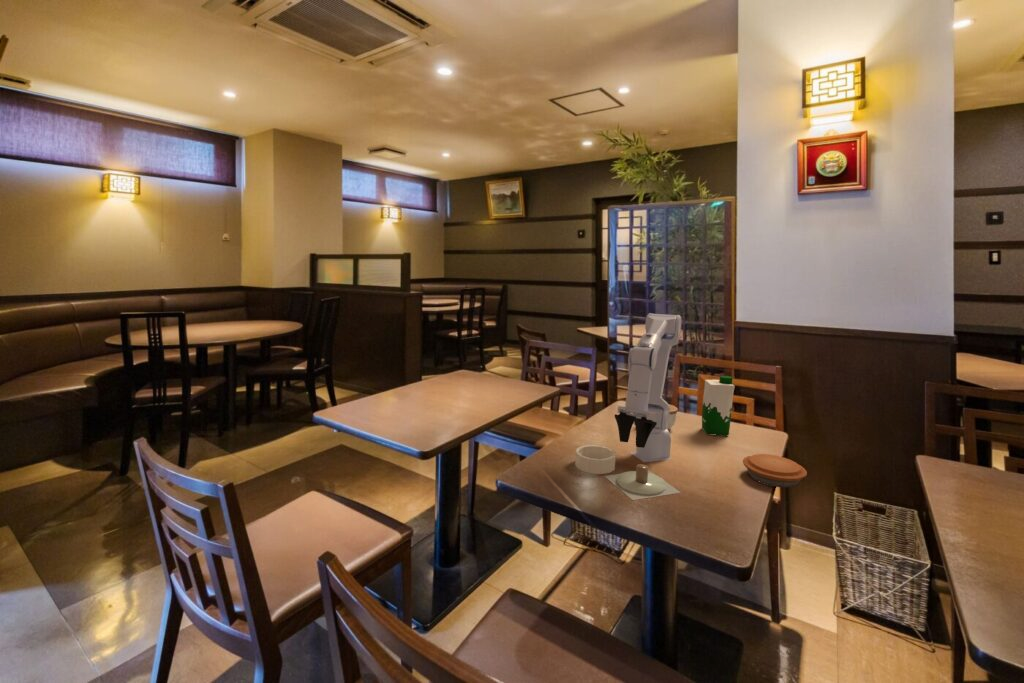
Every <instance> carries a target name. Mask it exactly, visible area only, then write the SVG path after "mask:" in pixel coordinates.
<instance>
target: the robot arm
mask: <svg viewBox="0 0 1024 683" xmlns="http://www.w3.org/2000/svg"><path fill="white" fill-rule="evenodd" d="M682 323H683V322H682V316H681V315H680V314H666V313H665V314H663V313H652V312H649V313H648V314H647V315H646V319H645V333H644V334H642V336H641V337H640V338H639V340H638V343H637V345H635V346H633V347H631V348H629V352H628V357H627V361H628V363H627V364H628V368H627V373H628V381H627V391H626V398H625V404H624V406H622V405H621V406H620V405H618V406H617V411H616V413H617V414H614V418H615V421H616V424H617V428H618V437H619V442H620V443H628V442H629V440H630V436H631V432H632V427H633V425H634V426H635V447H636V448H635V449H636V450H635V451H630V454H631V455H632V456H634V457H636V458H637V459H639V460H640V461H642V462H643V463H652V462H659V461H665V460H666V461H667V460H671V459H672V457H670V456H671V447H672V446H671V444H672V437H671V433H670V431H669V430H667V428H668V424H669V412H670V407H669V405H668V404H669V403H668V402H667V401H666V400H665V399H664V398H663V394H664V388H665V387H664V386H665V381H666V375H667V371H668V370H667V369H668V365H669V357H670V354H671V351H672V347H674V346H676V345H678V344H679V340H680V339H681V338H680V336H681V330H682Z"/></svg>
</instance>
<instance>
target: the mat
mask: <svg viewBox="0 0 1024 683" xmlns="http://www.w3.org/2000/svg"><path fill="white" fill-rule="evenodd" d="M648 473H651V474H654V475H656V474H655V473H654V472H652V471H651V470H649V469H648ZM619 474H620V473H616V474H609V475H604V476H603V477H604V478H605V479H606V480H608V481H609V482H611V483H612V484H613V485H614V486H615V487H616V488H618V489H619V490H620V491H621V492H622V493H624V494H625V495H626V496H627V497H628V498H629V499H630V500H632V501H636V500H637V501H638V500H643V499H644V500H645V499H650V498H656V497H663V496H669V495H675V494H680V493H682V492H681V491H680V490H679V489H676V487H674V486H673V485H671V484H670V483H668V482H666V481H665V482H666V490H665V491H664V492H663V493H660V494H657V495H640V494H635V493H632V492H629V491H626V490H624V489H623V488H621V487H620V486H619V485H618V483H617V477H618V475H619Z"/></svg>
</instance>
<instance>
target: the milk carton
mask: <svg viewBox="0 0 1024 683" xmlns="http://www.w3.org/2000/svg"><path fill="white" fill-rule="evenodd" d="M733 378H734V377H733V376H732V375H731V376H730V375H720V376H719V379H715V378H714V379H704V386H703V398H702V412H701V429H702V428H703V429H704V430H703V429H702V430H703V432H704V433H705V432H706V433H707V434H716V435H715V436H718V435H729V436H730V429H731V428H730V427H731V419H732V411H733V410H732V409H733V398H734V393H735V392H734V391H735V387H736V386H735V384H734V383H733ZM706 433H705V434H706ZM707 434H706V435H707Z"/></svg>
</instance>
